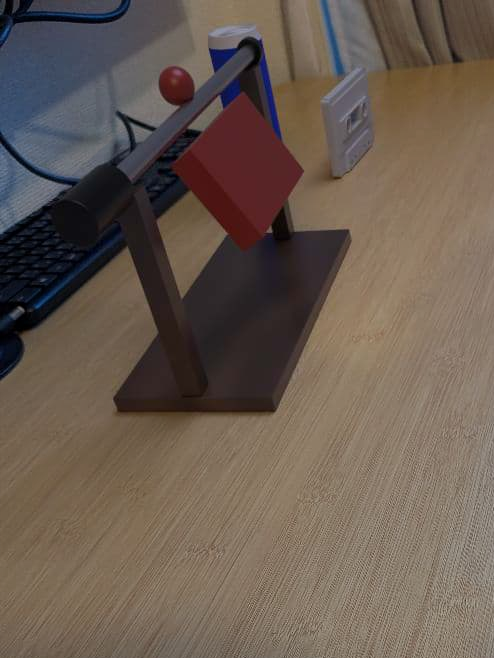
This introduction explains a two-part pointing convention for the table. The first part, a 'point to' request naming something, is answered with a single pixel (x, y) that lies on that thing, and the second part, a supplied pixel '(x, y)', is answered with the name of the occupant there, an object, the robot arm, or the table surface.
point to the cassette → (348, 121)
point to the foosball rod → (196, 162)
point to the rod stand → (228, 308)
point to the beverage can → (225, 48)
